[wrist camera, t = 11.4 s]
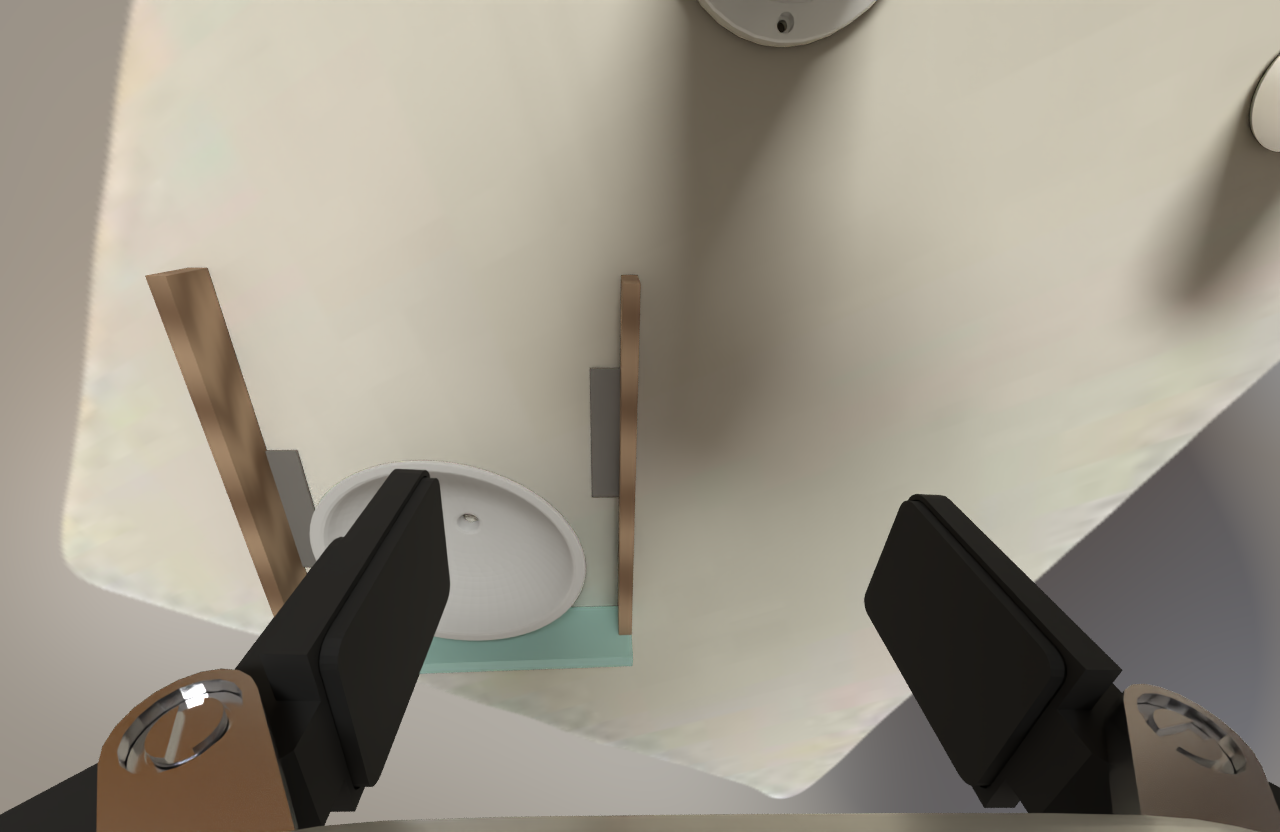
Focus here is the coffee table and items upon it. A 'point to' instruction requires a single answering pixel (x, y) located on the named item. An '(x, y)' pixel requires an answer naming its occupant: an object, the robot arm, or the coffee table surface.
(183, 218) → the coffee table surface
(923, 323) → the coffee table surface
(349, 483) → the dish
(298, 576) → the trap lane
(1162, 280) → the coffee table surface
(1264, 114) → the can
